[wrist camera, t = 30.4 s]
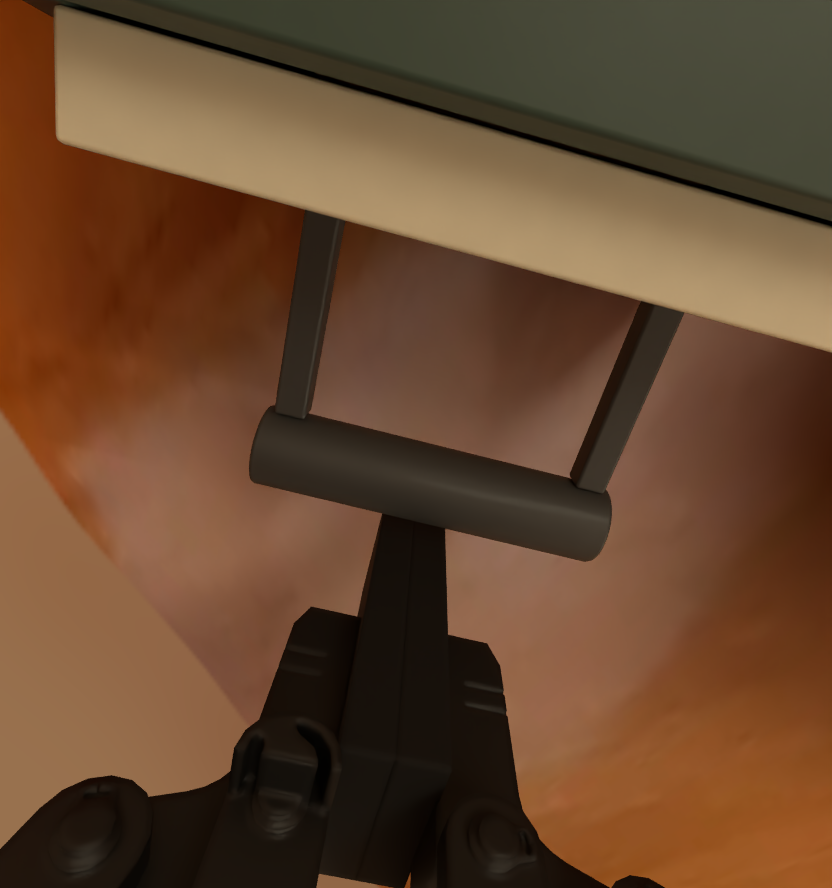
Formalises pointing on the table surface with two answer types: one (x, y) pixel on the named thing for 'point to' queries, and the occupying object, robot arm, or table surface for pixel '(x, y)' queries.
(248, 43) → the cabinet
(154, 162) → the drawer
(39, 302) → the table surface
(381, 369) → the table surface
